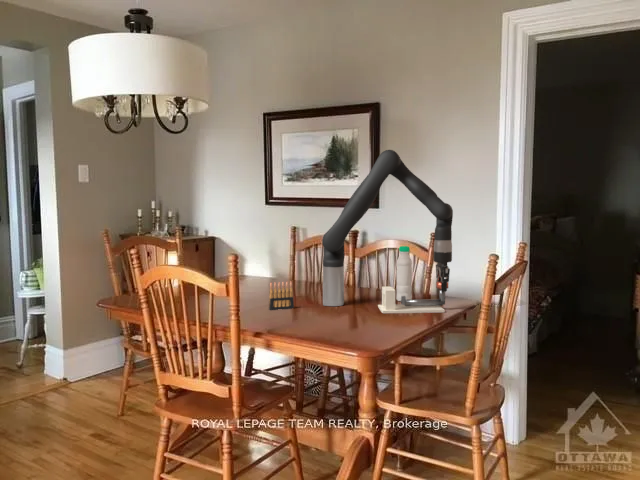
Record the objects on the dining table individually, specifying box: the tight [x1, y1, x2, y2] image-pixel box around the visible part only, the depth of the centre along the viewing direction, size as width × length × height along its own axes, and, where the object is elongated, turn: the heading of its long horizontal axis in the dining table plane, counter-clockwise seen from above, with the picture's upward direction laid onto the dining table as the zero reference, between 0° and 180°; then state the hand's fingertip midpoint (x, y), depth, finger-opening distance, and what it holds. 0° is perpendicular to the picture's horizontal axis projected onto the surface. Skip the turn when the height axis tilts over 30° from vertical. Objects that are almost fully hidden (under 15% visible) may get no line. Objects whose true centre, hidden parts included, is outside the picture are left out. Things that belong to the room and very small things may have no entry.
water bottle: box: [395, 245, 413, 302], centre depth 262 cm, size 7×7×25 cm
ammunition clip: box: [268, 280, 295, 311], centre depth 245 cm, size 11×2×12 cm, turn 109°
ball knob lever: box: [400, 280, 449, 307], centre depth 243 cm, size 20×5×10 cm, turn 93°
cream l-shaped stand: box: [377, 286, 446, 314], centre depth 243 cm, size 26×13×9 cm, turn 93°
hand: (442, 290), depth 243 cm, fingers closed on ball knob lever, 5 cm apart
